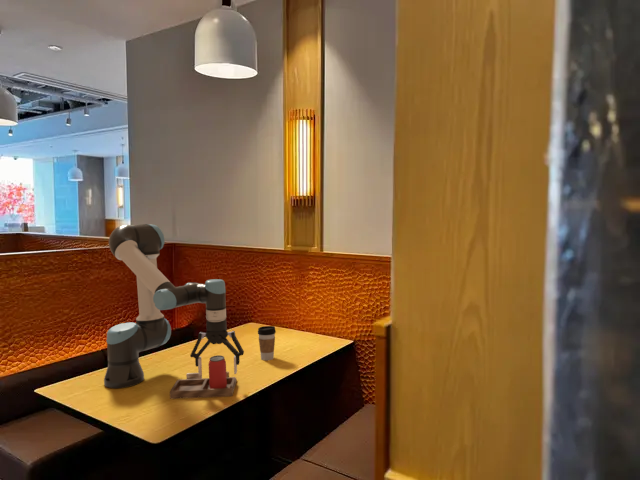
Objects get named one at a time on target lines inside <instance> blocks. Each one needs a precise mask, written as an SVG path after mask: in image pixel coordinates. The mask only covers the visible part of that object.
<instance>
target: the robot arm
mask: <svg viewBox="0 0 640 480" xmlns="http://www.w3.org/2000/svg"><path fill="white" fill-rule="evenodd" d="M165 239H166V238H165V235H164V232H163V230H162V228H160V227H159V226H158V225H156V224H151V223H149V224H148V223H144V224H123V225H120V226H118V227H115V229H113V231H112V232H111V234H109V238H108V246H109V250H110V252H111V254H112V255H113V256H114V257H115V258H116V259H117V260H119V261H122V262H123V263H124V264H125V266H127V267H128V268H129V270H131V272H132V273H133V274H134V275H135V276H136V286H137V300H138V303H137V304H138V313H139V314H138V316H136V318H135V322H130V321H129V322H125V323H119V324H116V325H114V326H112V327H110V328H109V329H108V331H107V332H106V349H107V350H106V351H107V369H106V370H105V374H104V378H103V379H104V380H103V382H104V383H103V384H104V386H105V387H106V388H109V389H123V388H129V387H133V386H135V385H138V384H140V383H142V382H143V381H144V380H145V373H144V370H143V368H142V366H141V364H140V358H139V356H140V355H139V353H141V352H144V351H148V350H151V349H155V348H159V347H160V346H163V345H165V344H166V343H167V342H168V341H169V340H170V338H171V335H172V327H171V324H170V321H169V320H167V318H165V315H164V314H163V313H162V312H161V311H165V310H173V309H176V308H179V307H182V306H187V305H193V304H197V303H199V304H205V314H206V315H205V318H206V322H205V323H206V332H203V331H200V332H199V333H198V334H197V340H196V342H195V344H194V346H193V349H192V351H191V353H190V358H194V359H195V361H194V362H195V367H198V369H197V371H198V372H197V373H198V374H199V376H201V374H202V375H203V367H202V366H203V364H202V363H203V362H202V356H201V355H202V354H203V352H204V351H205V350H206V349H207V348H208V347H209V346H210V344H212V345H216V344H217V345H221V344H223V345H224V346H226V347H227V348H228V350H229V351H230V352H231V353H232V354H233V373H234V375H237V373H238V365H240V362H241V361H240V356H243V355H244V353H245V350H244V349H243V346H242V345H241V343H240V342H239V340H238V338H237V335H236V331H235V330H232V331H228V330H227V329H228V328H227V327H228V326H227V304H226V301H227V300H226V295H227V294H226V292H227V290H226V283H225V282H226V281H224V280H223V279H220V278H219V279H217V278H215V279H214V278H213V279H207V280H206V281H204V282H205V283H199V282H194V281H193V282H187V283H185V284H184V285H179V286H175V285H174V283H172V282H171V281H170V280H169V279H168V278H167V276H165V275H164V274H163V272H161V270H159V269H158V263H157V258H158V257H159V256H160V250H162V249H163V248H164V245H165V242H166V240H165ZM228 336H229V338H231V340H232V341H233V344H234V345H235V347H234V346H233V344H232V343H231V342H230V341H229V339H228V338H227V337H228ZM204 337H205V338H206V339H207V340H206V342H205V344H203V346H202V347H201V349H199V350H198V348H199V345H200V344H201V342H202V339H204ZM197 351H198V352H197ZM196 352H197V353H196Z"/></svg>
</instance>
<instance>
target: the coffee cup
mask: <svg viewBox="0 0 640 480" xmlns="http://www.w3.org/2000/svg"><path fill="white" fill-rule="evenodd" d="M276 333H277V331H276V327H275V326H274V325H266V326H261V327H258V330H257V334H258V342H259V351H260V360H262V361H271V360H273V359H274V358H275V355H274V354H275V343H276V342H275V341H276V337H275V336H276Z"/></svg>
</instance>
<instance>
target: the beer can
mask: <svg viewBox="0 0 640 480" xmlns="http://www.w3.org/2000/svg"><path fill="white" fill-rule="evenodd" d="M226 362H227V361H226V360H225V356H224V355H218V354H217V355H214V356H211V357H210V358H209V361H208V378H209V385H210V389H217V388H226V386H227V376H226V372H227V363H226Z"/></svg>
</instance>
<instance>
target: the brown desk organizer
mask: <svg viewBox="0 0 640 480" xmlns="http://www.w3.org/2000/svg"><path fill="white" fill-rule="evenodd" d="M226 376H227V386H226V388H217V389H210V385H209V377H207V378H203V373H202V374H201V376H199V374H198V372H187V373H186V378H184V379H183V378H181V379H176V381H175V383H174V384H173V386H172V387H171V389H170V390H169V400H172V399H173V400H175V399H195V398H201V399H202V398H217V397H219V398H221V397H233V394H234V391H235V388H236V384H237V380H238V379H237V377H236V376H231V377H230V371H227V370H226Z"/></svg>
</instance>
